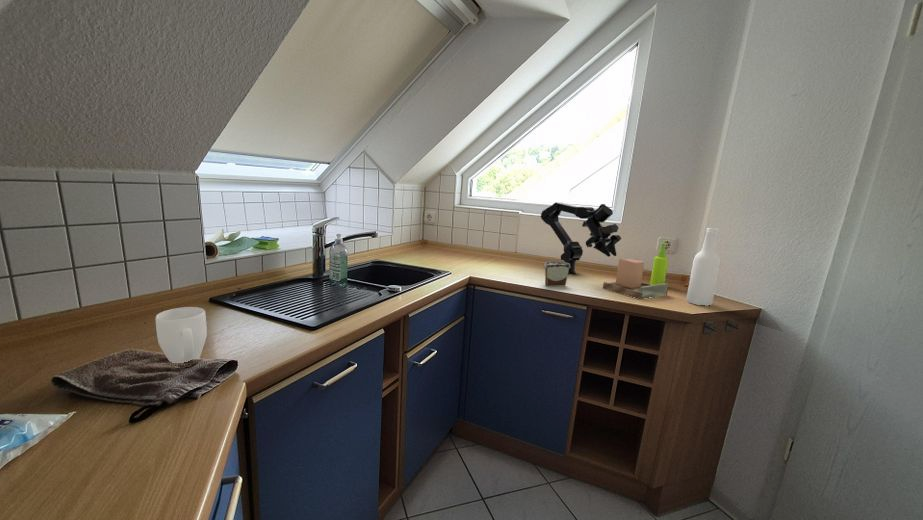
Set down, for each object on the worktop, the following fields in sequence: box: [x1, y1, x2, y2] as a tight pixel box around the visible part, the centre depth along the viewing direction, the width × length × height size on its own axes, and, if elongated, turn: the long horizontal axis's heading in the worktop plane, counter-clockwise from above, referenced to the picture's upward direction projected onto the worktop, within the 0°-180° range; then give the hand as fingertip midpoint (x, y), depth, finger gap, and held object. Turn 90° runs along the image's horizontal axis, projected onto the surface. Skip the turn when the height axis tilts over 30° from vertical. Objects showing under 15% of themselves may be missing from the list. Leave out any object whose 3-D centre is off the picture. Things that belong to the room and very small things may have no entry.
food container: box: [543, 260, 570, 287], centre depth 165 cm, size 12×6×10 cm, turn 108°
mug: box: [155, 306, 208, 363], centre depth 77 cm, size 12×8×11 cm
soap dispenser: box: [649, 242, 669, 285], centre depth 174 cm, size 6×7×20 cm
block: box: [615, 257, 645, 288], centre depth 163 cm, size 8×6×11 cm
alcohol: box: [686, 227, 721, 306], centre depth 146 cm, size 9×9×30 cm
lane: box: [602, 281, 669, 300], centre depth 161 cm, size 18×19×5 cm
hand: (612, 255), depth 170 cm, fingers open, 4 cm apart
